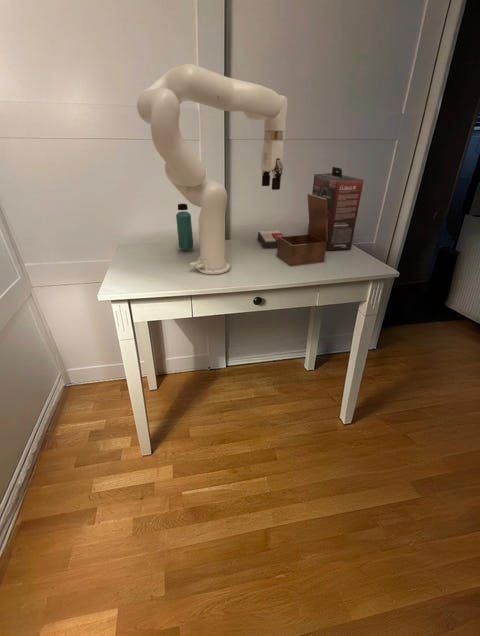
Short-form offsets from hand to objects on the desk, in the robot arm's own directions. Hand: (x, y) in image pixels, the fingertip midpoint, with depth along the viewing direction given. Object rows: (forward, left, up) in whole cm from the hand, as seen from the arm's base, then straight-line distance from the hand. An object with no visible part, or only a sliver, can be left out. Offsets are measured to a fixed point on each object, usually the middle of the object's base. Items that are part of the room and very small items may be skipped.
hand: (270, 187), depth 122 cm
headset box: (+36, -3, -28) cm, 45 cm away
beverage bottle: (-26, +25, -28) cm, 45 cm away
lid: (+14, -13, -11) cm, 22 cm away
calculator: (+13, +11, -28) cm, 32 cm away
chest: (+9, -11, -27) cm, 31 cm away
